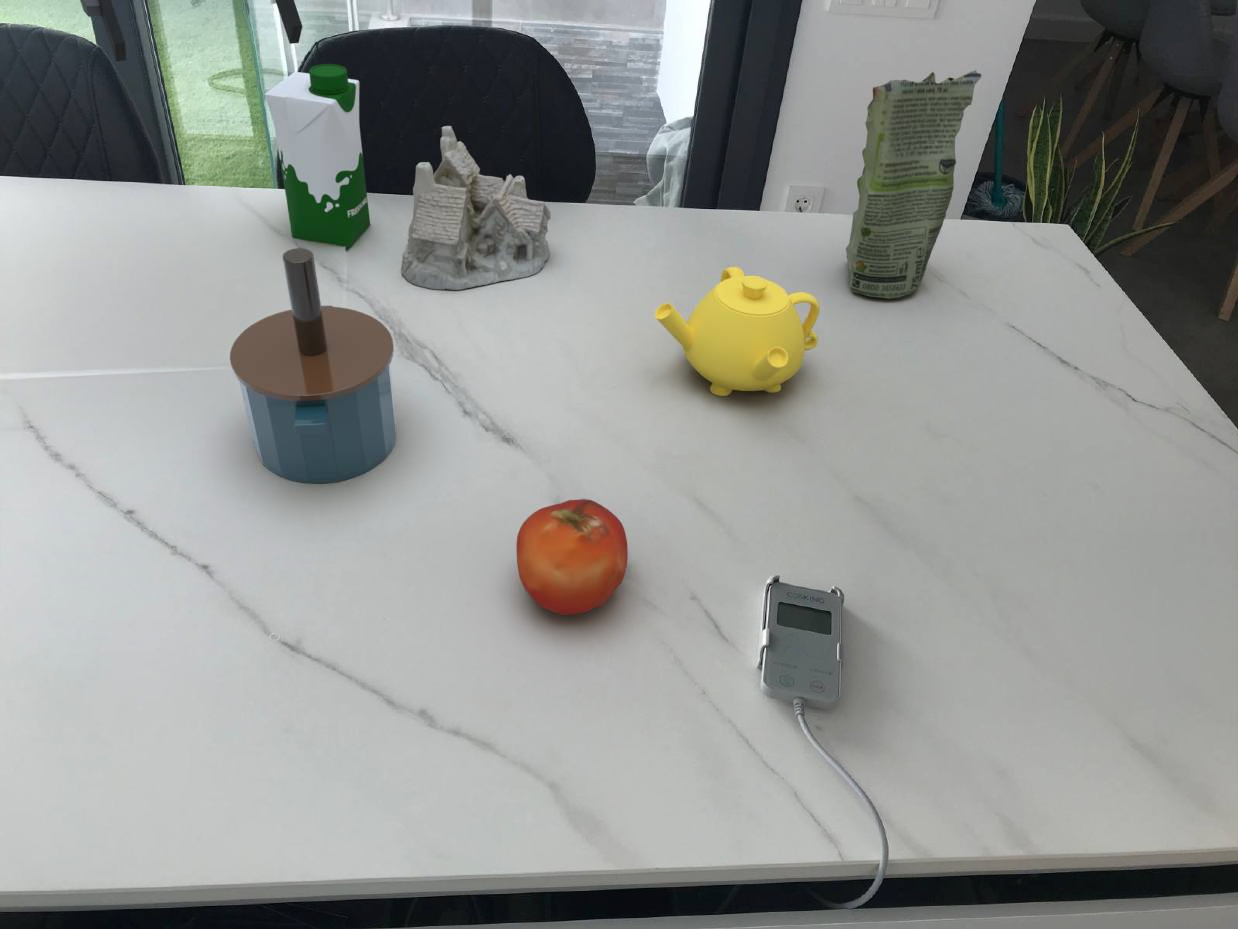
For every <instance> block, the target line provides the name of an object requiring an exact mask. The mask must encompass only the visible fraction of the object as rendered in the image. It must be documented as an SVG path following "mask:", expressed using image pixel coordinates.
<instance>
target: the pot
mask: <svg viewBox="0 0 1238 929" xmlns="http://www.w3.org/2000/svg"><path fill="white" fill-rule="evenodd" d="M328 306H329V307H334V306H333V305H328ZM391 370H392V369H391V364H390V365H389V366H388V368H387V369H386V370H385V372H384V373H383V374H382V375H381V376H380V377H378V378H377V379H376V380H374V381H373V382H372V383H370V384H368V385H367V386H365V387H363V388H361V389H359V390H356V391H354V392H351V393H348V394H345V395H342V396H338V397H334V398H329V399H323V400H315V401H289V400H281V399H276V398H271V397H267V396H264V395H262V394H259V393H257V392H255V391H253V390H251V389H249V388H248V387H246V386H245V385H243V384H242V383H241V382H240V381H239V385H240V391H241V394H242V399H243V403H244V408H245V412H246V415H247V420H248V424H249V429H250V434H251V438H252V442H253V446H254V449H255V451H256V454H257V457H258V458H259V460H260V462H261V463H262V464H263V466H265V468H267V470H268V471H270V472H272V473H273V474H275V475H277V476H279V477H280V478H284V479H286V480H289V481H294V482H299V483H304V484H331V483H336V482H342V481H346V480H350V479H353V478H356V477H358V476H360V475H363V474H366V473H367V472H369V471H371V470H372V469H374V468H376V467H377V466H378V465H379V464H382V462H383V461H385V459H386V458H387V457H388V456H389V455H390V454H391V452H392V451H393V448H394V447H395V444H396V440H397V420H396V419H397V418H396V411H395V410H396V409H395V400H394V391H393V380H392V372H391Z"/></svg>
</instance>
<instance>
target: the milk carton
mask: <svg viewBox="0 0 1238 929" xmlns="http://www.w3.org/2000/svg"><path fill="white" fill-rule="evenodd" d="M264 98H265V100H266V103H267V106H268V109H269V112H270V115H271V118H272V122H273V126H274V133H275V139H276V143H277V151H278V156H279V163H280V168H281V174H282V180H283V187H284V194H285V198H286V206H287V212H288V213H287V214H288V218H289V225H290V232H291V237H292V239H296V240H301V241H307V242H308V241H309V242H314V243H319V244H320V243H321V244H327V245H332V246H336V247H337V246H338V247H343V248H344V247H345V248H344V249H345V251H349V250H350V249H351V247H352V246H353V245H354V244H355V243H356V242H357V241H358V239H359V238H360V237H362V235H363V234H364V233H365V231H367V229H368V228H369V227H370V226H371V218H370V210H369V209H370V208H369V201H368V194H367V185H366V183H367V182H366V176H365V174H366V173H365V166H364V155H363V147H362V138H361V137H362V136H361V128H360V81H359V80H358V79H353V78H352V79H351V78H349V76H348V70H347V68H346V67H345V66H343V65H339V64H334V63H322V64H316V65H314V66H312V67H310V68H309V71H308V72H300V71H294V72H292V73H291V74H290V75H288V76H287V77H285V78H284V79H283V80H281V81H280V82H279V83H277V84H276V85H274V87H272V88H270V89H269V90H268V91H266V92H265V93H264Z"/></svg>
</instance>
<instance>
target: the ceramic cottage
mask: <svg viewBox="0 0 1238 929" xmlns="http://www.w3.org/2000/svg"><path fill="white" fill-rule="evenodd" d="M439 147H440V152H441V162H440V164H439V166H438V168H437V170H436V171H435V172H434V170H433V166H432V165H431V163H430V162H429V161H427V162H425V161H422V162H418V164H416V166H415V177H414V178H415V179H414V185H413V187H412V194H413V195H412V196H413V210H412V219H411V221H410V223H409V226H408V235H407V236H408V237H407V240H406V241H407V243H406V246H405V249H404V251H403V253H402V258H401V268H400V270H401V275H402V277H404V278H405V280H406V281H407V282H408V283H411V284H412V285H414V286H418V287H422V288H425V289H427V288H428V289H431V290H443V291H444V290H445V289H446V290H451V291H452V290H453V291H454V290H455V291H460V290H465V289H466V290H467V289H469V288H471V289H472V288H473V287H481V286H485V285H490V284H496V283H499V282H500V283H501V281H503V282H505V281H508V280H510V281H511V280H514V279H515V280H516V279H523V278H528V277H530V276H532V275H535V274H538V273H539V272H540V271H541V269H543V268H544V266H545V262H546V261H548V259H549V257H550V255H551V252H550V247H549V242H548V240H546V234H548V232H549V230H548V221H550V220H551V219H552V218H551V216H552V215H551V211H550V209H549V208H548V206H547V205H546V202H545V201H541V200H534V199H529V198H528V195H527V189H526V180H525V177H524V176H523V175H516V176H515V177H513V175H512V174H510V173H509V174H508V175H506V178H505V180H504V179H503V178H502V177H498V176H490V175H482V174H481V173H480V171H481V168H480V167H479V165H478V164H477V163H476V161H475V159H474V158H473V157H472V156H471V155H470V153H469V150H467V147H466V145H465V144H464V143H463V142H462V141H461V140H460V141H458V139H457V137H456V135H455V132H454V130H453V127H452V125H446V126H442V127H441V137H440V146H439Z"/></svg>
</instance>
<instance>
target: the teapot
mask: <svg viewBox="0 0 1238 929" xmlns="http://www.w3.org/2000/svg"><path fill="white" fill-rule="evenodd" d="M801 303H802V304H803V303H805V304H809V305H810V307H809V311H808V313H807V316H806V318H805V319H804V321H803V323H802V321H801V318H800V316H799V313H798V311H797V308H796V307H795V305H797V304H801ZM819 314H820V303H819V301H818V299H817V298H815V296H813V295H812V294H810V293H808V292H804V291H798V292H794V293H790V294H788V293H787V291H786V290H785V289H784V288H783V287H782V286H780V285H778V284H777V283H775V282H773V281H771V280H769V279H766V278H763V277H762V276H759V275H745V273H744V271H743V270H742V269H741V268H740V267H738V266H728V267H726V268H724V269H723V271H722V273H721V276H720V282H719V283H717V284H716V285H715V286H714V287H713V288H712V289H711V290H710V291H709V292H708V293H707V294H706V295H705V296H704V297H703V298H702V299H701V300H700V301H699V302H698V304H697V305H696V306H695V308H694V309H693V311H692V312H691V314H690V315H689V318H688V320H687V322H686V320H685V319H684V318H683V316H682V315H681V314H680V313H679V311H678V310H677V309H676V307H675V306H674V305H673V304H672V303H670V302H665V303H662V304H660V305H659V306H658V307H657V308H656V309H655V312H654V317H655V319H656V320H657V321H658V322H659V323H660V324H661V325H662V327H663V328H665V330H666V331H667V332H668V333H669V334H670V335H671V336H672V337H673V338H674V340H676V341H677V342H678V343H679V345H680V346H681V347H682V350H683V352H684V356H685V357H686V359H687V361H688V362H689V363H690V365H691V366H692V367H693V369H694V370H696V372H697V373H698V374H699V375H701V376H702V377H703V378H704V379H705V380H707V381H709V382H711V385H710V387H709V390H710V392H711V393H712V394H713V395H716V396H718V397H727V396H729V395H730V394H732V392H733V390H734V391H740V392H741V391H742V392H759V391H764V392H767V393H778V392H780V391H781V389H782V386H781V384H782V383H785V382H786V381H787V380H789V379H790V378H792V377H793V376H794V375H796V373H797V372H798V371H799V369H800V368H801V366H802V365H803V361H804V357H805V351H810V350H813V349H814V348H816V346H817V344H818V343H819V342H818V339H819V338H818V334H817V333H816V332H815V331H814V330H812V329H813V328H814V326H815V325H816V323H817V320H818V317H819Z"/></svg>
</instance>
